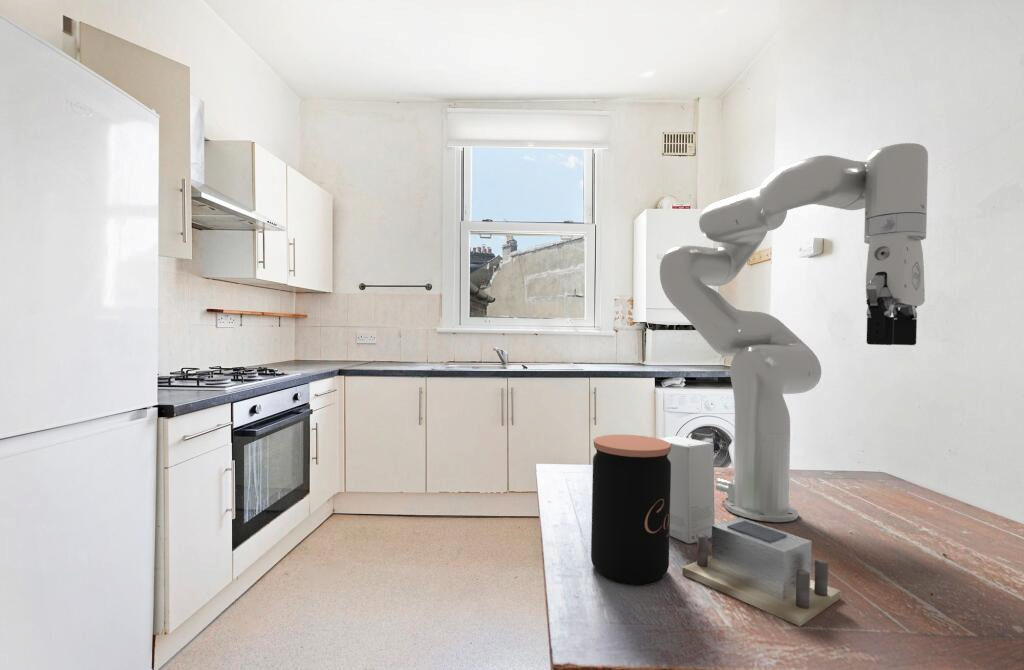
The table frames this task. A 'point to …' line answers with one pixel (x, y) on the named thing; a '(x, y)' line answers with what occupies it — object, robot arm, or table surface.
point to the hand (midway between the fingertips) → (891, 344)
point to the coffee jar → (631, 508)
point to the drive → (759, 556)
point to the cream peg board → (794, 609)
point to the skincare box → (691, 488)
